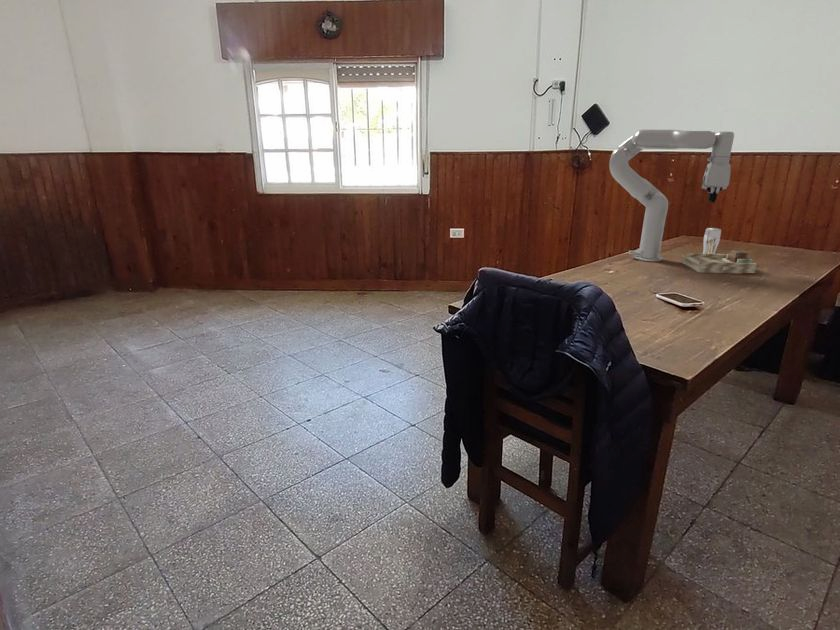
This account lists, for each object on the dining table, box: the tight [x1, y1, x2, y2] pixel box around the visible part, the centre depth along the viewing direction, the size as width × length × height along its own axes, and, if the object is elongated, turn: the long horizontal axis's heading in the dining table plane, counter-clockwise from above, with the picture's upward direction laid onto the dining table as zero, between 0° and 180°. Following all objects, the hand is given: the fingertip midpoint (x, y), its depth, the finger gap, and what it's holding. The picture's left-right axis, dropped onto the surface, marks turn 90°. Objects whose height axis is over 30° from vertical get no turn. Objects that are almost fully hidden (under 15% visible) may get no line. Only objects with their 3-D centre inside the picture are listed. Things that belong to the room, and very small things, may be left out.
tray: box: [681, 252, 758, 274], centre depth 233 cm, size 24×19×6 cm
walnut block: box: [729, 249, 749, 263], centre depth 231 cm, size 5×5×5 cm
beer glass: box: [702, 227, 722, 254], centre depth 249 cm, size 7×7×15 cm
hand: (711, 201), depth 233 cm, fingers closed
